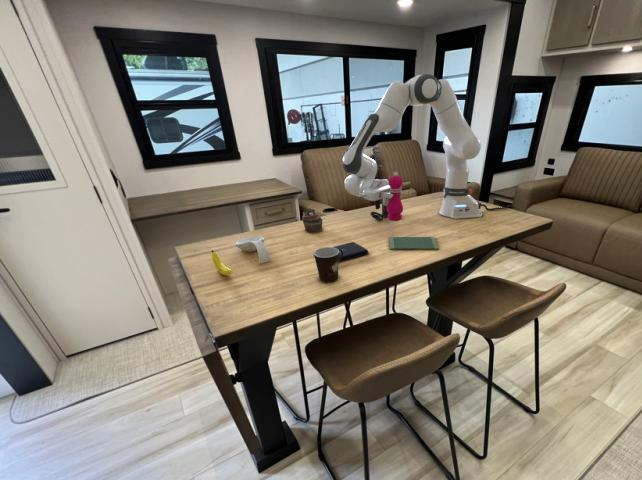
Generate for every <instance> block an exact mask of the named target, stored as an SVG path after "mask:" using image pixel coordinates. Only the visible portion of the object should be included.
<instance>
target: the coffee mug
mask: <svg viewBox="0 0 642 480" xmlns="http://www.w3.org/2000/svg"><path fill="white" fill-rule="evenodd" d="M332 247H333V246H332ZM332 247H331V246H325V247H320V248H317V249H315V250H314V251H313V257H314V261H315V265H316V269H317V272H318V277H319V281H320V282H322V283H326V284H328V283H333V282H336V281H337V280H338V279H339V264H340V262H341V261H340V260H341V258H342V256H343V251H342V250H341V249H336V248H332ZM339 251H341V257H340V259H339Z"/></svg>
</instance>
